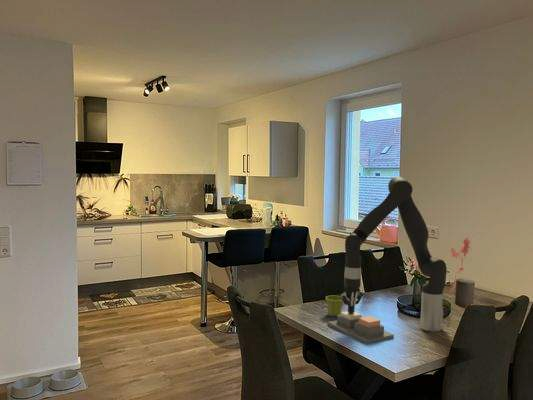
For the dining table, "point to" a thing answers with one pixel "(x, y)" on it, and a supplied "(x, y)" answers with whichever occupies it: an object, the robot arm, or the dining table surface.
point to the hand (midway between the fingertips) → (351, 313)
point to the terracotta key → (369, 322)
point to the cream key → (350, 315)
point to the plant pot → (334, 305)
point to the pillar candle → (464, 292)
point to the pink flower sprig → (455, 254)
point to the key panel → (360, 330)
